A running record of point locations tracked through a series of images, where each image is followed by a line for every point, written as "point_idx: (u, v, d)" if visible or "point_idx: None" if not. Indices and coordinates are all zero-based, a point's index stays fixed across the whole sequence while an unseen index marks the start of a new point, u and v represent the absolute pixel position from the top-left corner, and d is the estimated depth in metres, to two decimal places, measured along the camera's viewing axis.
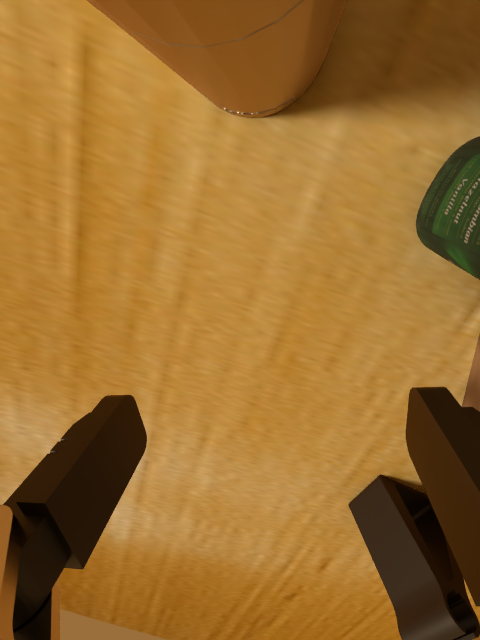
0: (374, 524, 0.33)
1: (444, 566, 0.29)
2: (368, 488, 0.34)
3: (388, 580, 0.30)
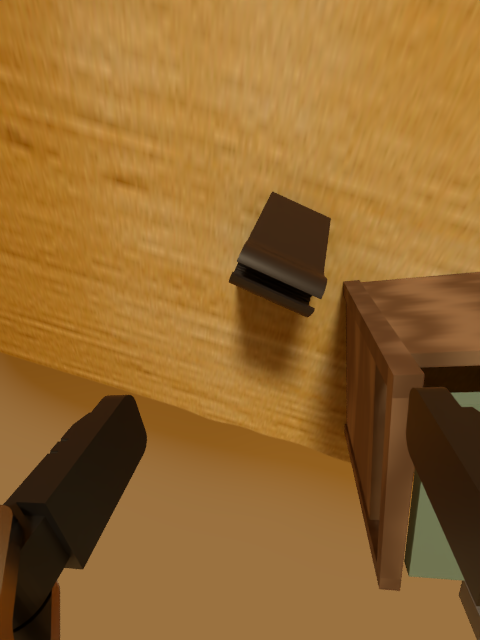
0: (290, 216, 0.26)
1: None
2: (310, 209, 0.28)
3: (263, 232, 0.23)
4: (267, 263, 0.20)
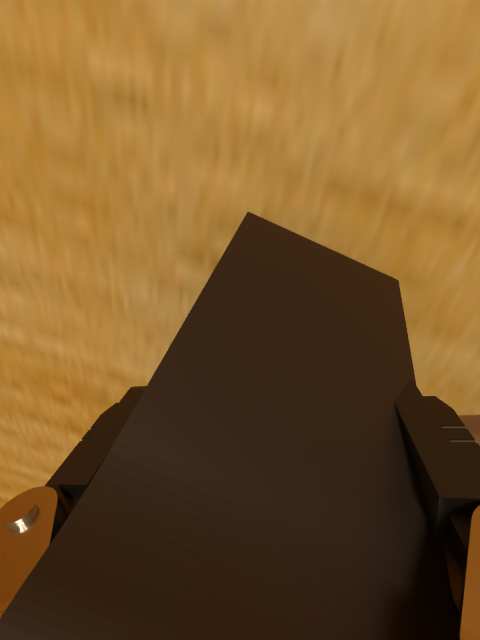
0: (296, 290, 0.09)
1: None
2: (346, 257, 0.11)
3: (191, 391, 0.06)
4: None
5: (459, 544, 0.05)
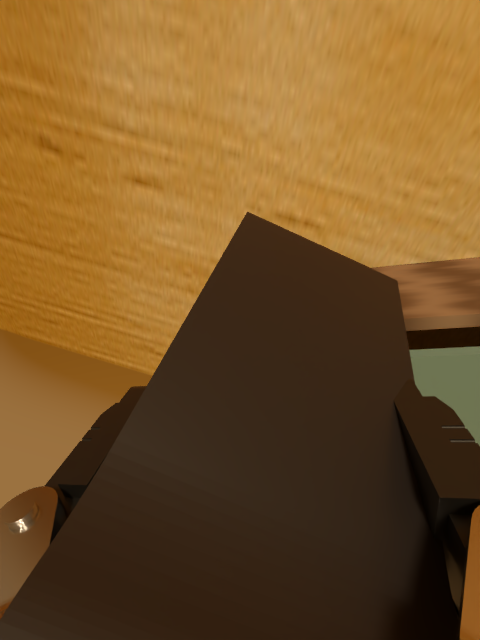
0: (295, 290, 0.09)
1: None
2: (345, 258, 0.11)
3: (191, 392, 0.06)
4: None
5: (459, 544, 0.05)
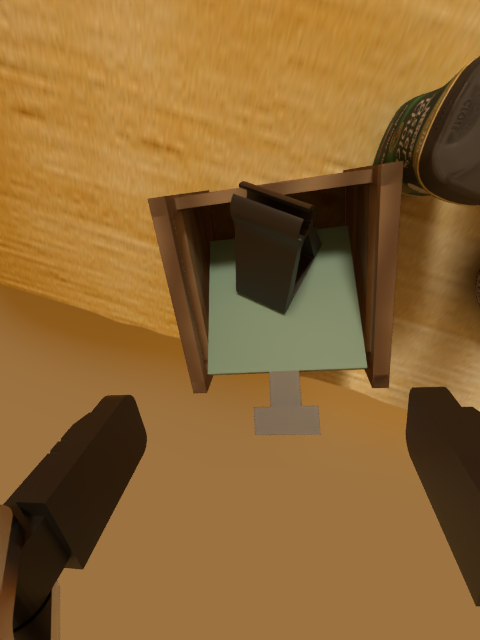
0: None
1: None
2: None
3: None
4: (263, 188, 0.24)
5: None
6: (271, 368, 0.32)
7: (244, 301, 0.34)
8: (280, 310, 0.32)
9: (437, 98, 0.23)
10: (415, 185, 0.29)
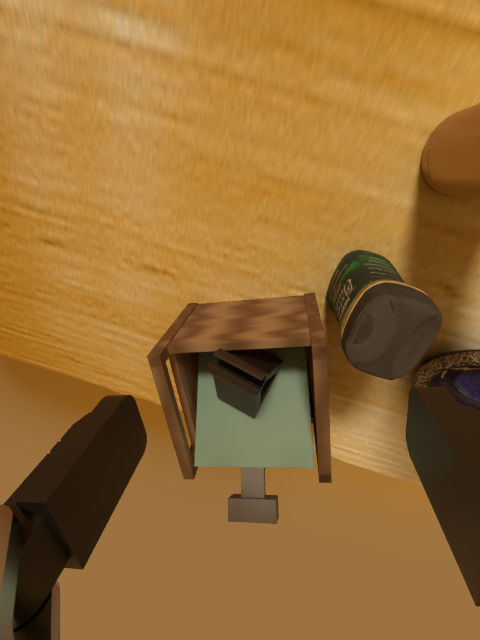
0: (255, 352, 0.42)
1: None
2: None
3: (234, 352, 0.38)
4: (231, 358, 0.34)
5: None
6: (242, 464, 0.41)
7: (224, 406, 0.44)
8: (251, 416, 0.42)
9: (352, 297, 0.32)
10: None
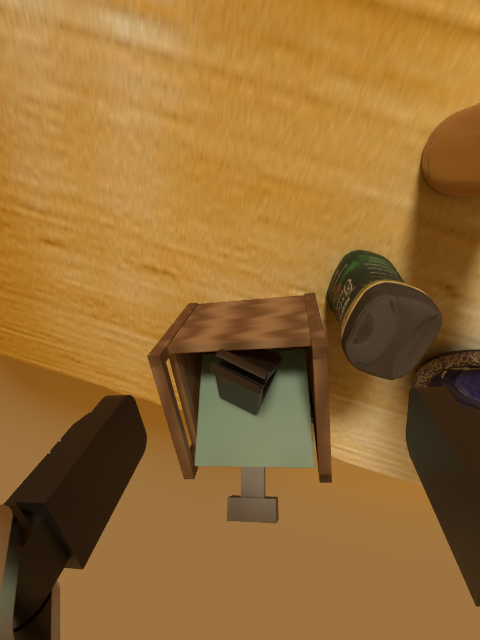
0: (255, 350, 0.42)
1: None
2: (269, 351, 0.45)
3: (235, 351, 0.39)
4: (233, 357, 0.34)
5: None
6: (243, 464, 0.41)
7: (225, 406, 0.45)
8: (253, 413, 0.43)
9: (353, 297, 0.32)
10: None
